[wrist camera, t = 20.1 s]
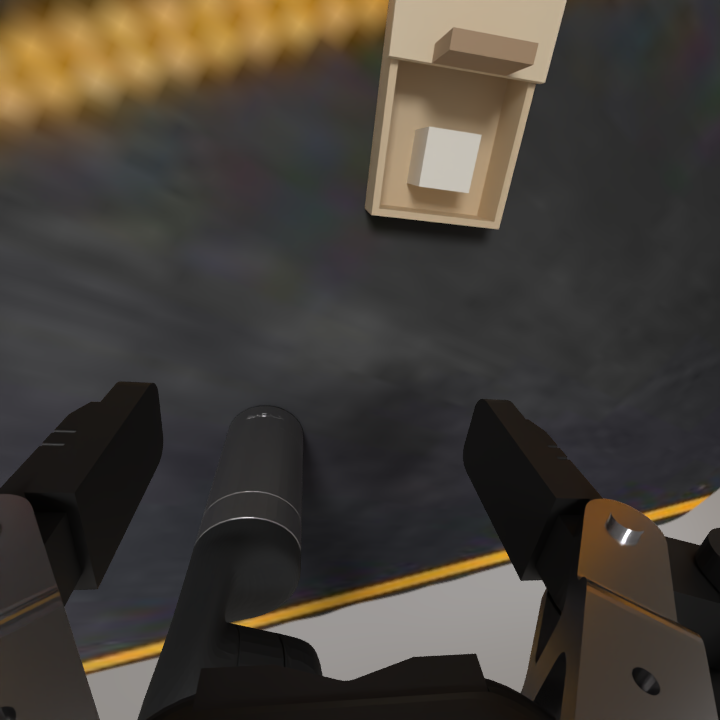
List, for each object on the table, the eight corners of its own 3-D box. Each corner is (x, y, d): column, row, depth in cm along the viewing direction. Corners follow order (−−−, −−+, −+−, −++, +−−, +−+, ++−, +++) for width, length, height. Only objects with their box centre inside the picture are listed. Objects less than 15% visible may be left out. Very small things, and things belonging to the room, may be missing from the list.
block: (450, 189, 40) (468, 193, 36) (406, 183, 40) (418, 186, 35) (461, 137, 38) (481, 134, 34) (415, 129, 38) (429, 126, 33)
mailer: (478, 221, 43) (498, 229, 38) (364, 208, 41) (371, 214, 36) (530, 0, 35) (562, -23, 30) (392, -28, 33) (405, -57, 29)
